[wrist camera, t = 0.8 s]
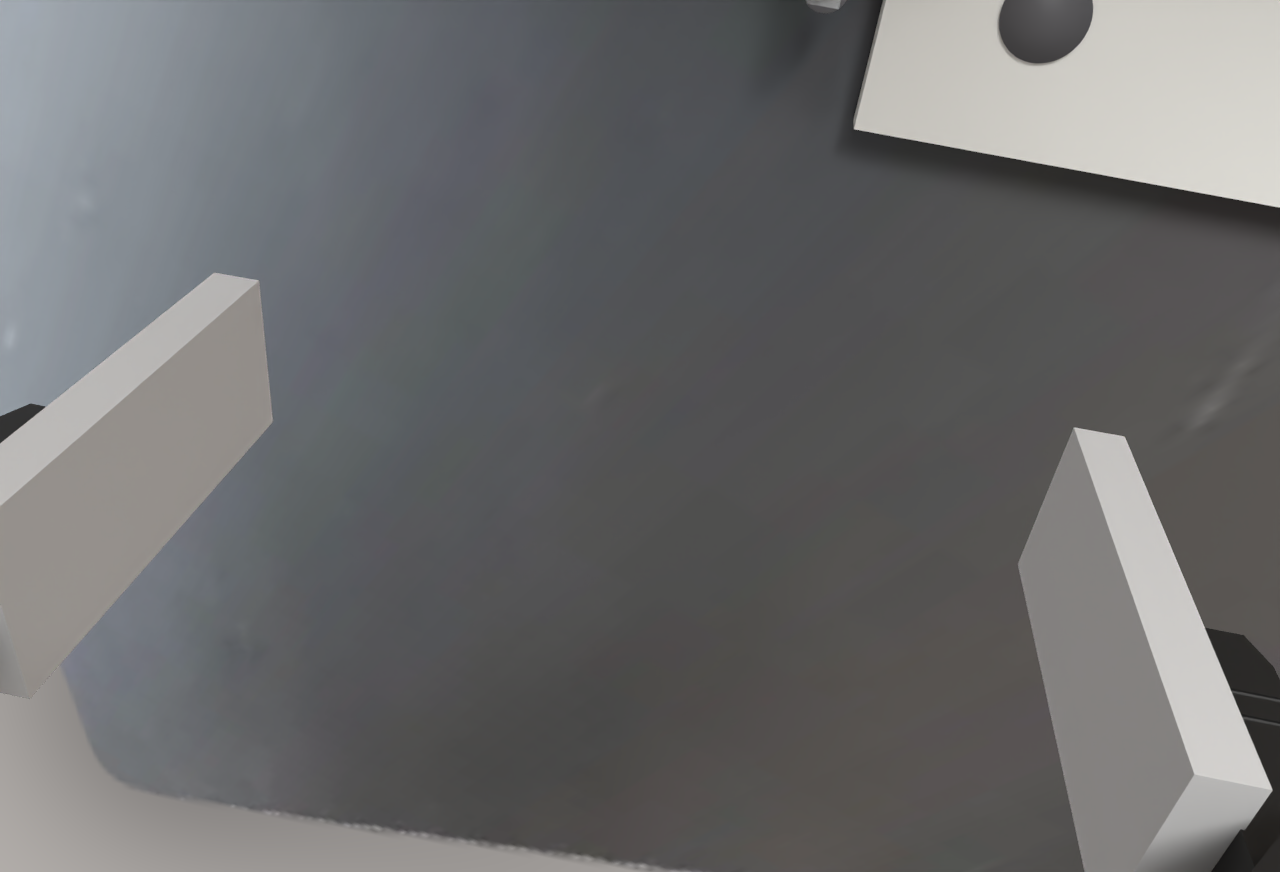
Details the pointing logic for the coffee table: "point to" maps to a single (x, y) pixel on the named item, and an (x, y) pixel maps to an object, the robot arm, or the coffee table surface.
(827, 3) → the sliding leg
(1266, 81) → the hole plate
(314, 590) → the coffee table surface
